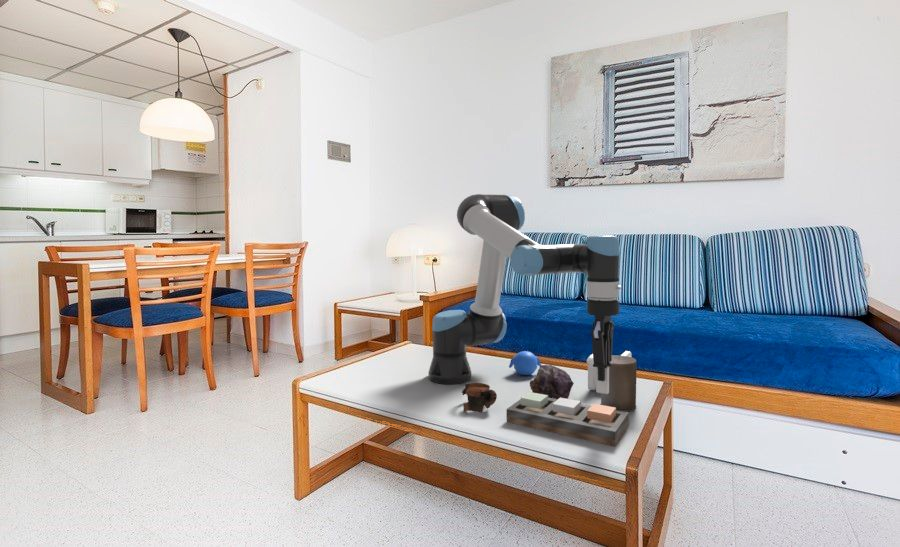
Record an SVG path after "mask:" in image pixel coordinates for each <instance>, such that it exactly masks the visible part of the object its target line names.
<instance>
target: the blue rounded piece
mask: <svg viewBox="0 0 900 547" xmlns="http://www.w3.org/2000/svg"><path fill="white" fill-rule="evenodd" d="M541 365H542V363H541V362H540V359H539V357H538V356H536V355H535V354H534V353H533V352H531V351H527V350H523V351H519V352H517V353H516V354H515V355H514V357H512V358H511V359H510V361H509V365H508V369H511V368H512V367H513V368H514V370H515V372H516V373H518V374H519V375H521V376H530V375H533V374H534V373H535V372H536V371H537V370H538V366H539V367H540V366H541Z"/></svg>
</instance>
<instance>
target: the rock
mask: <svg viewBox="0 0 900 547" xmlns="http://www.w3.org/2000/svg"><path fill="white" fill-rule="evenodd" d="M573 386H574V382H573V380H572V377H571V375H570V374H568V372H567V371H565V370H563V369H561V368H559V367H557V366H555V365H552V364H544V365H543V364H541V366H539V368H538V369H537V372H536V375H535V377H534V378H533V379H532V380H530V381H529V387H530V389H531V392H533V393H538V394H544V395H548V398H553V399H559V398H566V399H569V397H570V394H571V390H572V388H573Z"/></svg>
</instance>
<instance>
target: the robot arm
mask: <svg viewBox="0 0 900 547" xmlns="http://www.w3.org/2000/svg"><path fill="white" fill-rule="evenodd" d="M525 215H526V212H525V209H524V205H523V203H522V201H521V200H520V199H519V198H518V197H516V196H515V195H507V194H483V193H482V194H480V193H478V194H472V195H469V196H467V197H466V198H464V199H463V200H462V201H461V202H460V203H459V205H458V207H457V210H456V218H457V222H458V225H459V226H460V228H462V229H463V230H464V231H465V232H466V233H468V234H469V235H471V236H472V235H473V236H475V235H476V236H478V237H479V238H480V239H482V240H483V241H482V243H483V244H482V250H481V256H480V257H481V258H480V265H479V270H478V280H477V284H476V285H477V286H476V291H475V297H474V298H475V301H474V302H473V303H471V304H470V306H469V310H468V311H469V312H467V313H466V311H465V310H462V309H449V310H445V311H441V312H438V313H436V314H435V315H434V316H433V318H432V326H431V329H432V360H431V362H430V366H429V369H428V375H427V376H428V380H429V381H431V382H432V383H436V384H441V385H442V384H444V385H455V384H456V385H457V384H462V383H465V382H466V383H467V382H468V381H471V380H472V369H471V366H470V363H469V361H468V358H467V357H468V356H467V347H473V346H479V345H481V346H482V345H491V344H494V343H498V342H501V341H502V339H504V337H505V335H506V333H507V326H508V323H507V321H506V320H507V318H506V315H505V314H504V312H503V309H502V308H501V306H500V301H501V293H502V287H503V281H504V275H505V269H506V263H507V258H508V259H509V260H510V266H511V268H512V271H513V272H514V273H515V274H517V275H519V276H528V277H533V276H537V275H539V276H540V275H551V274H552V275H554V274H571V273H573V274H576V273H577V274H586V297H587V300H586V313H587V314H588V315H591V316H594V321H593V322H592V329H591V330H590V337H591V346H592V354H593V361H594V364H593V367H596V389H595V391H596V393H598V394H601V393H604V394H608V393H609V367H608V366H612V365H613V363H610V362H611V360H612V355H613V339H614V328H615V323H614V321H612V317H614V316H618V315H619V314H620V300H619V299H618V298H619V296H620V290H621V289H622V285H619V284H620V255H621V250H620V240H619V238H618V237H617V236H616V235H589V236H588V237H587V241H586V244H585V243H583V244H582V243H563V244H559V243H558V244H541V243H538V242H537V241H534V240H533V239H531V238H530V237H528V236H527V235H525V234H523V233H522V232H521V231H519V230H521V229H522V227H523V226H524V224H525V220H526V219H525V218H526V216H525Z"/></svg>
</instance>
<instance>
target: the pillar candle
mask: <svg viewBox="0 0 900 547" xmlns="http://www.w3.org/2000/svg"><path fill="white" fill-rule="evenodd" d="M621 355H622V354H619V355H617V354H616V355H614V354H612V360H611V362H610V363H613V365H612V366H608V367H609V393H608V394H604V393H600V405H604V406H610V407H615V408H616V410H618V411H624V412H631V411H634V410H636V409H637V359H636V358H634V357H632V356H631V357H628V356H621Z"/></svg>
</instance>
